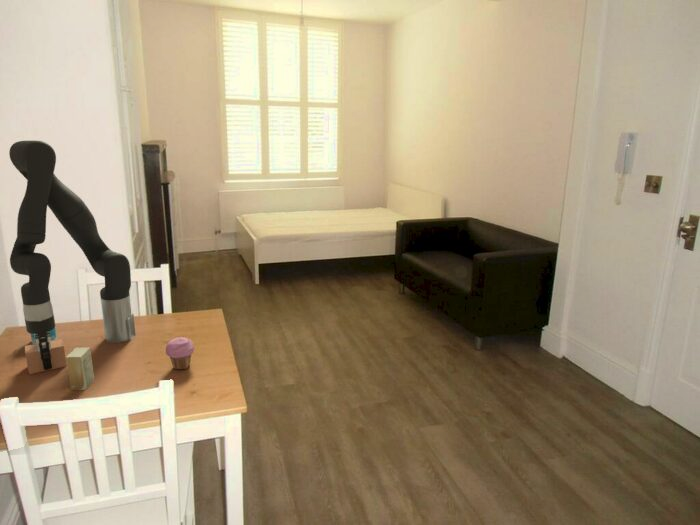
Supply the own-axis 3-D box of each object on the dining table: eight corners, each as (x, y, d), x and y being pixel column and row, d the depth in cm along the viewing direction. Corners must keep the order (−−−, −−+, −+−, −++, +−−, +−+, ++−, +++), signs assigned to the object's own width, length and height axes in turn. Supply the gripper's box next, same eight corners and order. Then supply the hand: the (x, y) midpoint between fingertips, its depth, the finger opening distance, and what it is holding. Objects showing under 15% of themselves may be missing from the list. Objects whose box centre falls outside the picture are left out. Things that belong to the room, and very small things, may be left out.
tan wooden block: (65, 361, 155) (62, 338, 153) (67, 368, 150) (63, 345, 148) (29, 369, 149) (24, 346, 147) (29, 377, 145) (25, 353, 142)
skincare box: (80, 383, 143) (75, 346, 139) (95, 383, 143) (90, 346, 140) (70, 395, 137) (64, 356, 133) (86, 394, 137) (80, 356, 134)
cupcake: (193, 372, 151) (191, 344, 148) (164, 374, 150) (162, 345, 147) (197, 359, 159) (195, 332, 157) (170, 361, 158) (168, 333, 155)
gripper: (23, 310, 148) (32, 358, 153) (24, 326, 137) (34, 377, 142) (51, 305, 152) (59, 352, 157) (55, 320, 141) (63, 371, 146)
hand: (47, 364), depth 149 cm, fingers closed on tan wooden block, 6 cm apart
